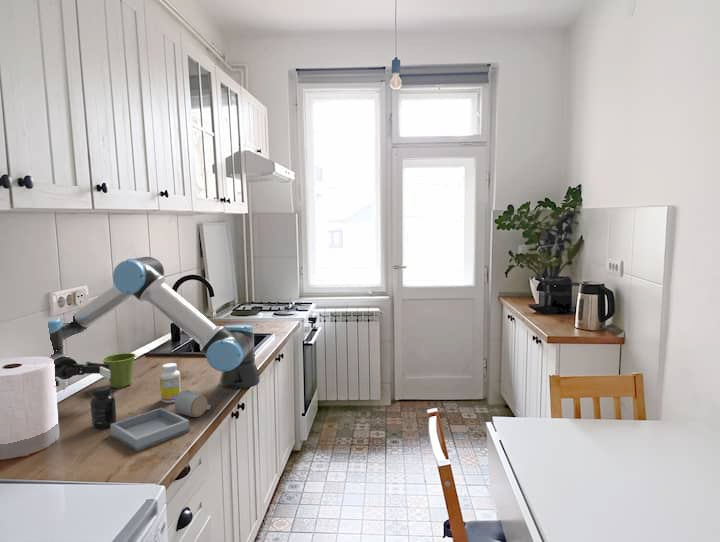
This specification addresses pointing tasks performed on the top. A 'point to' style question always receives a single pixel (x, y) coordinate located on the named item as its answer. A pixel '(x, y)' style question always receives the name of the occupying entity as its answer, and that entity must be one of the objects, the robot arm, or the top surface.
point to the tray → (149, 428)
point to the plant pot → (120, 369)
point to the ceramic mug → (191, 403)
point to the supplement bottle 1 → (103, 408)
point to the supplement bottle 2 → (170, 383)
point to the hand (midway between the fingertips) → (87, 379)
